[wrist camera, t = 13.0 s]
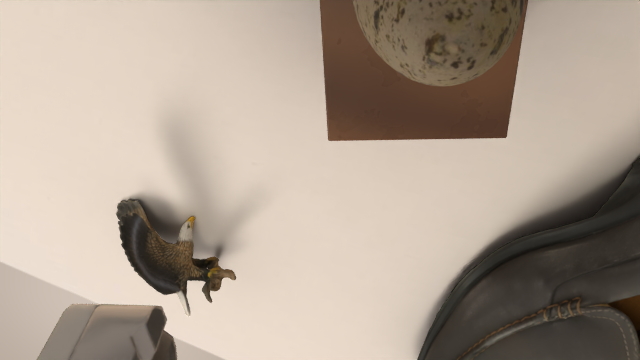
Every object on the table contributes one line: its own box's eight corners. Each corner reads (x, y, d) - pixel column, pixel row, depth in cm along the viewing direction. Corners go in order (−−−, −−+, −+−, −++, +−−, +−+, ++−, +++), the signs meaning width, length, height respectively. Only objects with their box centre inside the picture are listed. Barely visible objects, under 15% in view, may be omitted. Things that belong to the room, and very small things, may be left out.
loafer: (374, 343, 51) (377, 492, 40) (747, 19, 32) (935, 141, 21) (484, 395, 54) (513, 545, 44) (878, 133, 35) (1095, 285, 25)
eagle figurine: (251, 225, 42) (133, 183, 38) (225, 321, 39) (96, 286, 36) (216, 236, 48) (112, 201, 44) (192, 319, 46) (79, 289, 42)
